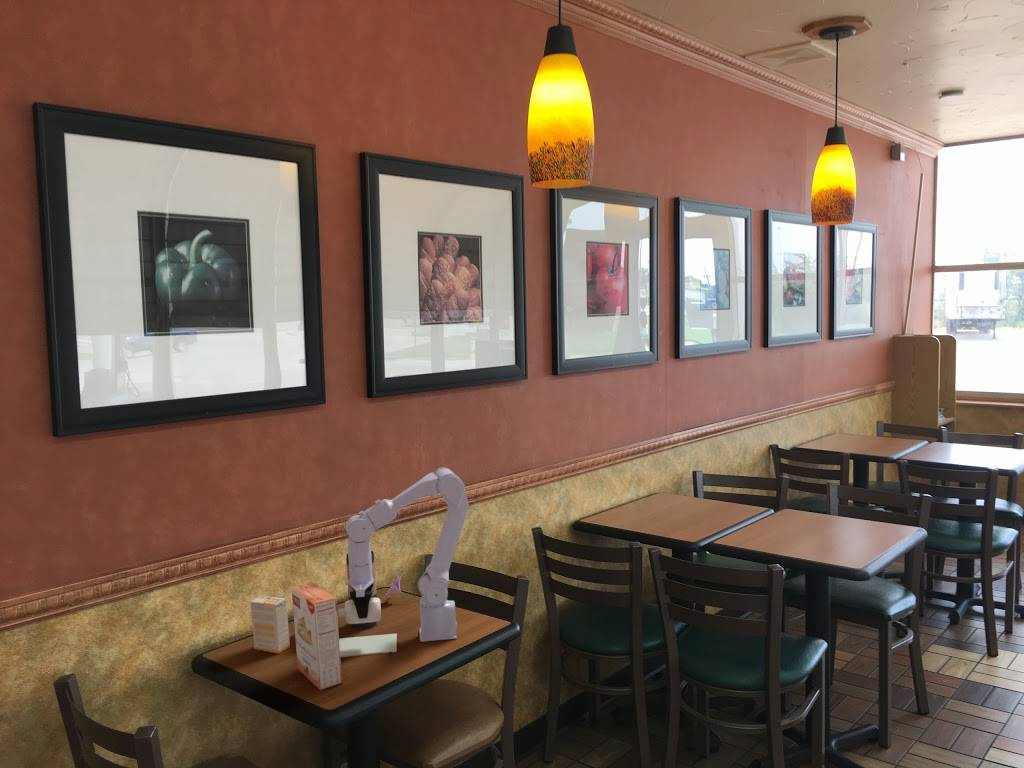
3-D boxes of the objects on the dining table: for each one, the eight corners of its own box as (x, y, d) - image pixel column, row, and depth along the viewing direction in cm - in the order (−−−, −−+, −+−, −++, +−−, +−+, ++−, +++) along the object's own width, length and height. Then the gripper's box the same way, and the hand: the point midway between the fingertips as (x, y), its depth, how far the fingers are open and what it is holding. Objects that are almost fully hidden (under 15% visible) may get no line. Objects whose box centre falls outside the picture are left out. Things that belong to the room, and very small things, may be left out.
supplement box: (291, 647, 215) (287, 598, 213) (278, 654, 210) (274, 604, 209) (266, 642, 218) (262, 594, 217) (253, 649, 214) (249, 600, 212)
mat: (396, 634, 220) (396, 633, 219) (396, 652, 209) (396, 650, 209) (335, 640, 218) (335, 638, 217) (331, 658, 207) (331, 656, 207)
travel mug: (384, 621, 229) (379, 551, 227) (365, 631, 223) (360, 559, 220) (363, 617, 233) (359, 547, 231) (344, 626, 227) (339, 555, 225)
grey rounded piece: (381, 615, 215) (380, 596, 214) (381, 621, 211) (380, 602, 210) (340, 619, 214) (338, 600, 213) (338, 625, 210) (337, 606, 209)
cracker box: (296, 671, 200) (290, 587, 198) (319, 663, 204) (314, 581, 202) (318, 692, 189) (312, 603, 187) (343, 684, 192) (337, 597, 190)
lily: (407, 595, 252) (390, 569, 251) (429, 588, 244) (411, 561, 243) (380, 619, 243) (363, 592, 243) (402, 613, 235) (384, 585, 235)
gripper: (346, 555, 218) (349, 605, 219) (342, 573, 203) (345, 626, 205) (373, 553, 218) (376, 603, 220) (371, 571, 204) (374, 624, 205)
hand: (363, 614), depth 212 cm, fingers closed on grey rounded piece, 4 cm apart
